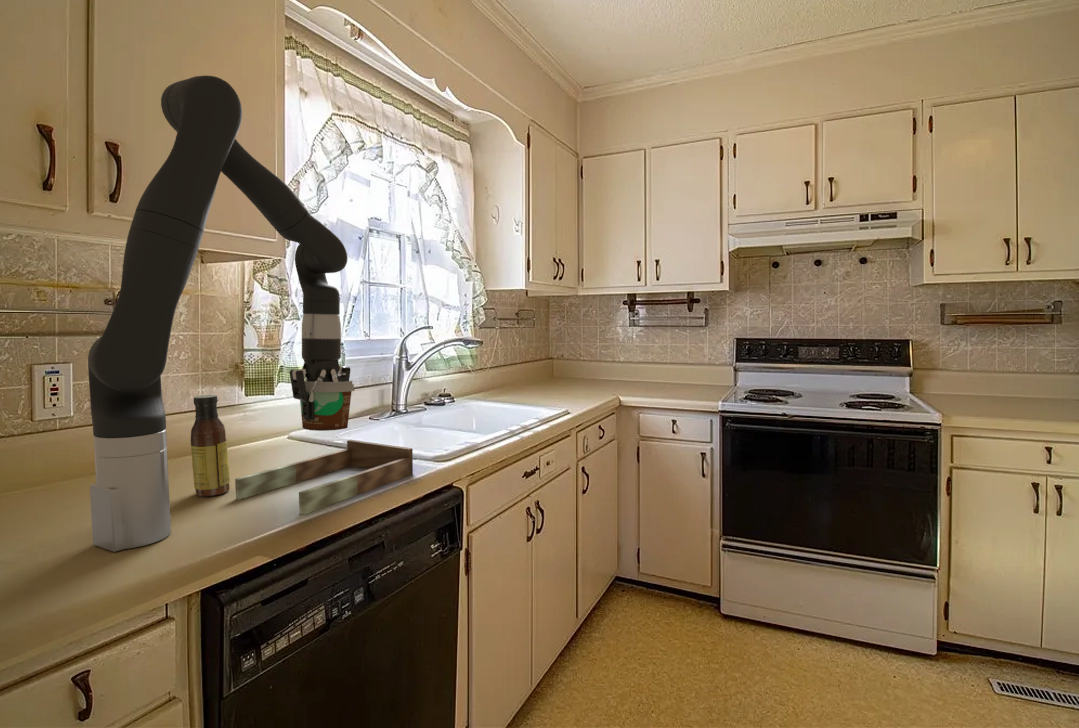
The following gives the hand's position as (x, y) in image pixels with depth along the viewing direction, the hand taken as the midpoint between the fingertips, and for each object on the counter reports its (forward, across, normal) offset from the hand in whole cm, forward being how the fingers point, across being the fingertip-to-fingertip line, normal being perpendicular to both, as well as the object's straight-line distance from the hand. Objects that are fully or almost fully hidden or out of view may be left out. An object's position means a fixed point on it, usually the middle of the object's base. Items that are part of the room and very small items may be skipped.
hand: (321, 417), depth 114 cm
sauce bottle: (+15, -13, +17) cm, 26 cm away
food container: (+3, -1, 0) cm, 3 cm away
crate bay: (+15, +2, 0) cm, 15 cm away
